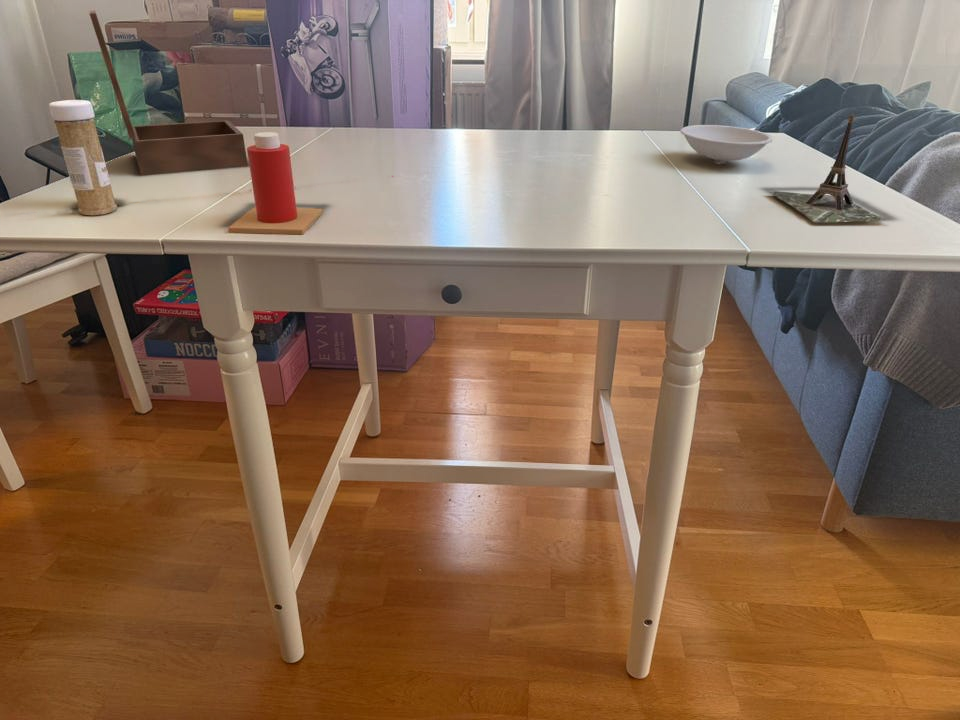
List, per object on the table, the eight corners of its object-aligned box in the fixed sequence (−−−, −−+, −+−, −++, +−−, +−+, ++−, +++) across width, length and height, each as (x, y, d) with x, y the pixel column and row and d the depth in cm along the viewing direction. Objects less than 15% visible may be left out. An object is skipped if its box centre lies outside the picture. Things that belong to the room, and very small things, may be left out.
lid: (95, 10, 102) (89, 11, 101) (95, 12, 90) (89, 13, 90) (130, 122, 110) (125, 123, 110) (135, 137, 99) (129, 138, 98)
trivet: (228, 232, 80) (227, 227, 80) (254, 211, 88) (254, 206, 88) (303, 234, 80) (302, 229, 79) (322, 213, 88) (322, 208, 87)
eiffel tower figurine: (764, 194, 98) (785, 97, 92) (832, 194, 99) (857, 98, 93) (813, 225, 85) (841, 114, 79) (891, 225, 86) (925, 115, 79)
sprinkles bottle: (124, 210, 88) (98, 101, 81) (90, 218, 84) (59, 105, 78) (106, 204, 90) (79, 97, 84) (71, 212, 87) (40, 101, 80)
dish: (662, 153, 124) (666, 125, 122) (735, 152, 126) (740, 124, 124) (702, 175, 109) (707, 143, 106) (785, 174, 111) (792, 142, 108)
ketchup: (261, 225, 81) (249, 139, 76) (254, 215, 85) (241, 132, 80) (301, 220, 83) (291, 136, 78) (292, 210, 86) (282, 129, 82)
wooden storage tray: (233, 154, 119) (228, 120, 116) (248, 171, 108) (243, 134, 105) (137, 162, 113) (128, 126, 110) (142, 181, 101) (133, 141, 99)
